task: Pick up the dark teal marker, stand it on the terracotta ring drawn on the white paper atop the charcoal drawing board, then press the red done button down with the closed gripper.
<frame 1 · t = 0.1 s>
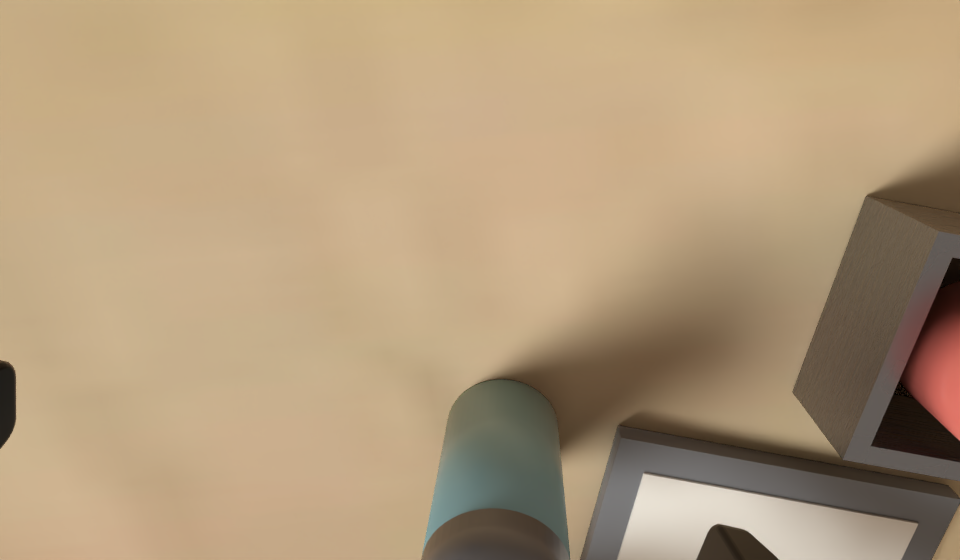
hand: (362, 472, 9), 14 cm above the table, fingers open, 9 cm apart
button housing: (932, 318, 23), on the table
marker: (502, 428, 25), on the table
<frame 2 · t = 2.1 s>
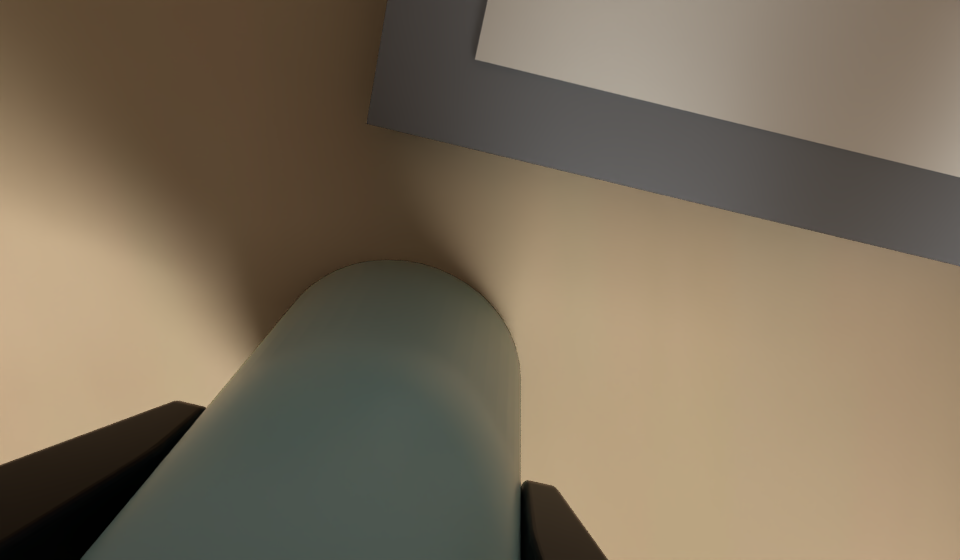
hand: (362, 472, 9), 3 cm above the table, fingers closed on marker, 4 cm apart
marker: (396, 378, 11), on the table, touching gripper
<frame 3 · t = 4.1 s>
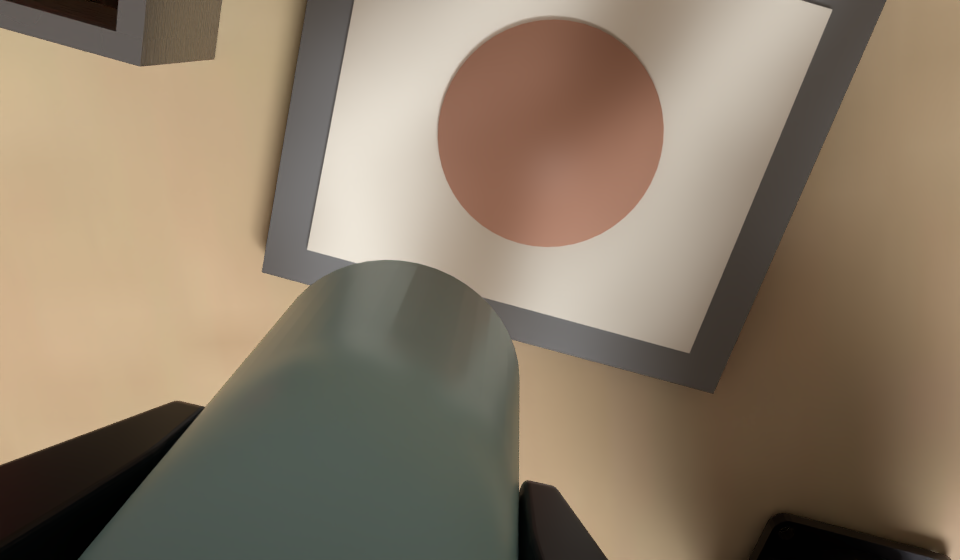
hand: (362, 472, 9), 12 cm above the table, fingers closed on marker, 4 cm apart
marker: (394, 378, 11), point 10 cm above the table, touching gripper
drawing board: (548, 134, 20), on the table
when the fingers open (4 cm above the table, at t = 6.2 s): marker stays where it is, resting on drawing board.
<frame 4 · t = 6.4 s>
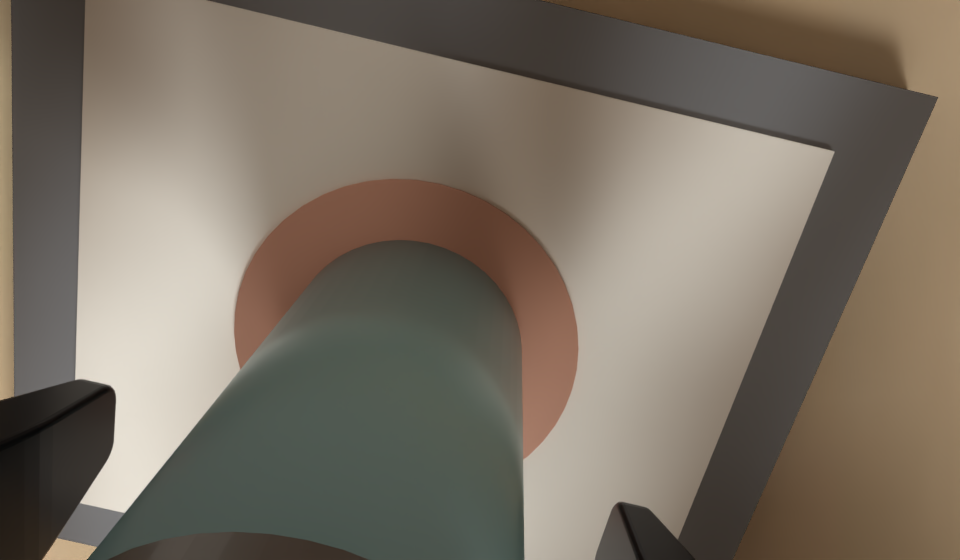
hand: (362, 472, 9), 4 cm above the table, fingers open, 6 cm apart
marker: (406, 350, 12), point 1 cm above the table, touching drawing board
drawing board: (412, 327, 13), on the table
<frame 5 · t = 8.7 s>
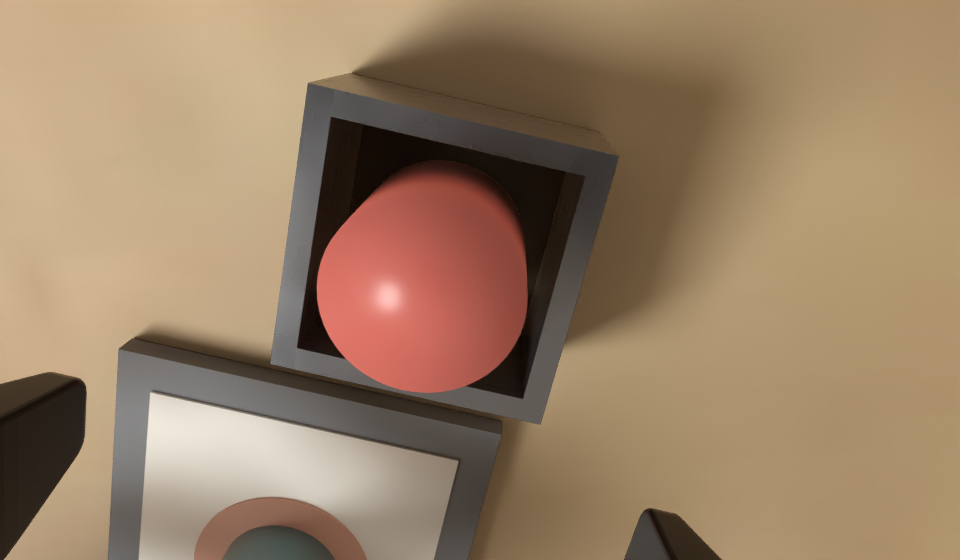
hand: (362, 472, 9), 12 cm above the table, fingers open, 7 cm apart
button housing: (448, 223, 20), on the table
done button: (432, 268, 16), point 4 cm above the table, slide at 0.0 cm
drawing board: (290, 552, 25), on the table
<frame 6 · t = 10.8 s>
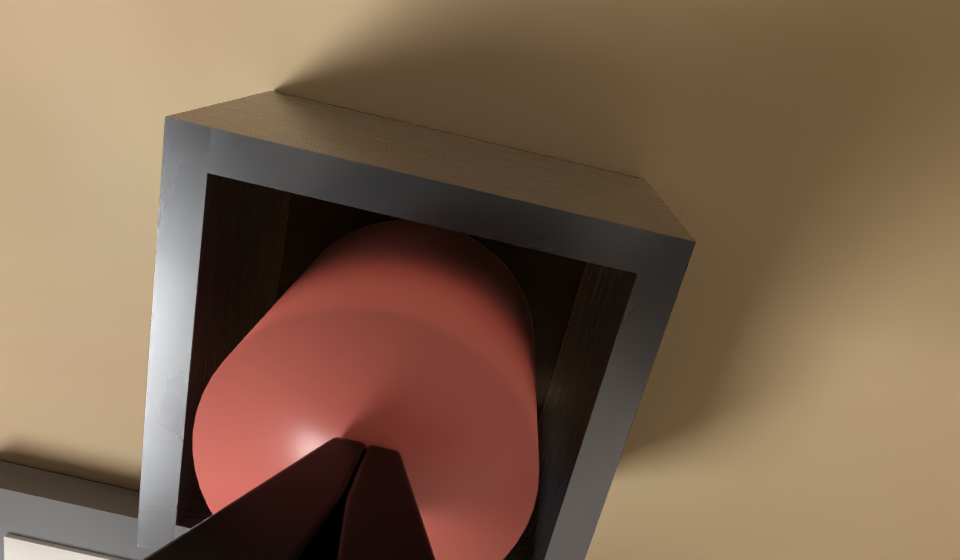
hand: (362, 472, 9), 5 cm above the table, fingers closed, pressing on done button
button housing: (422, 307, 14), on the table
done button: (391, 392, 11), point 3 cm above the table, slide at 0.7 cm, touching gripper
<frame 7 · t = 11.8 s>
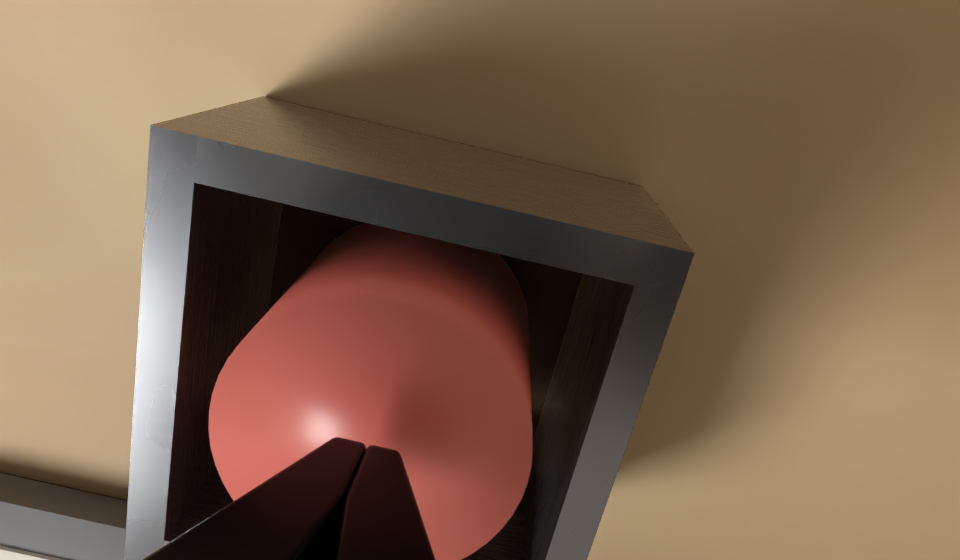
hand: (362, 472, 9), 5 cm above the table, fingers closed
button housing: (416, 316, 14), on the table
done button: (394, 377, 11), point 3 cm above the table, slide at 1.5 cm
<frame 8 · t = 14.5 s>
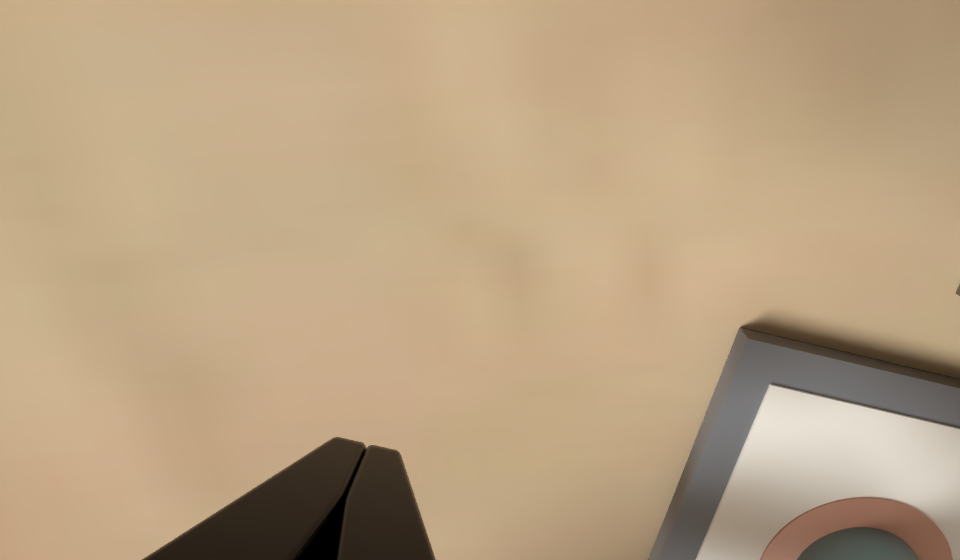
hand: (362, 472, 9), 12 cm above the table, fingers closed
drawing board: (840, 555, 23), on the table
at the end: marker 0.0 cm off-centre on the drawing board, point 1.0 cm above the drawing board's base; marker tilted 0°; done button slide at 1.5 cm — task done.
